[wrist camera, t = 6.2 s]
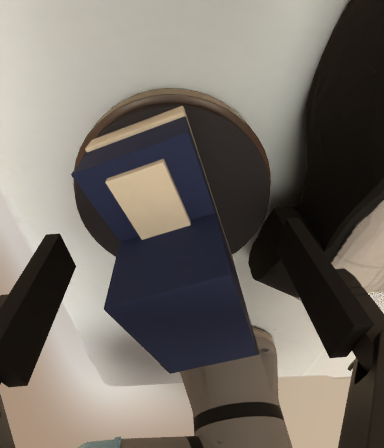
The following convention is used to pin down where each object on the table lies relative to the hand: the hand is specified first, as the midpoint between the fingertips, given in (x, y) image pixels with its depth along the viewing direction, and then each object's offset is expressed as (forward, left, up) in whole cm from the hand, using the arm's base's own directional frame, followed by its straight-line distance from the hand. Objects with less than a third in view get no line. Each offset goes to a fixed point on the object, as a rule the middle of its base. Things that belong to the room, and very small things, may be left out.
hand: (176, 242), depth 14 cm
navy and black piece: (0, 0, -4) cm, 4 cm away
